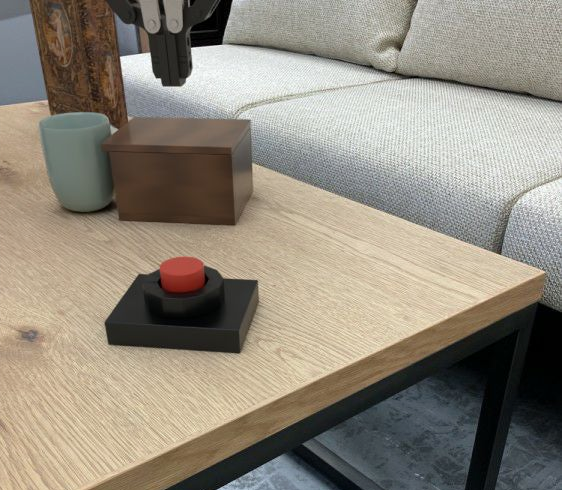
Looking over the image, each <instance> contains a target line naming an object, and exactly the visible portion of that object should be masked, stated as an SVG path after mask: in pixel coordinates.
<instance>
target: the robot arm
mask: <svg viewBox="0 0 562 490" xmlns="http://www.w3.org/2000/svg"><path fill="white" fill-rule="evenodd" d="M105 1H106V3H107V4H108V5H109V6H110V7H111V9H112V10H113V11H114V14H115V16H117V17H118V18H119V19H120V21H121V22H122V23H123V24H125V25H134V26H135V27H139V28H141V29H142V30H144V31H145V33H146V35H147V39H148V45H149V53H150V63H151V71H152V74H153V75H154V78H155V79H157V80H158V79H159V80H160V82H161V86H162V87H164V88H166V87H168V88H170V87H171V88H173V87H175V88H176V87H177V88H178V87H179V88H181V87H183V86H184V85H186V83H187V82H186V81H187V79H188V78H189V77H191V75H192V72H193V69H194V65H193V56H192V44H191V43H192V42H191V29H192V28H193V27H194V26H196V25H198V24H202V23H203V22H205V21H206V20H208V19H209V18H210V17H211V16H212V15H213V13H214V11H215V9H216V8H217V7H218V5H219V3H220V2H221V0H194V2H193V3H192V5H190V4H191V2H190V1H191V0H105Z"/></svg>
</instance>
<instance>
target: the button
mask: <svg viewBox="0 0 562 490" xmlns="http://www.w3.org/2000/svg"><path fill="white" fill-rule="evenodd" d="M204 266H205V265H204V262H203V260H201V259H199V258H197V257H193V256H176V257H171V258H168V259H166V260H164V261H163V262H161V263H160V264H159V269H160V276H161V285H162V288H163V289H164V290H167V291H170V292H188V291H193V290H197V289H199V288H201V287H203V286H204V285H205V274H204Z"/></svg>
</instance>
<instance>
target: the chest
mask: <svg viewBox="0 0 562 490" xmlns="http://www.w3.org/2000/svg"><path fill="white" fill-rule="evenodd" d="M109 156H110V163H111V170H112V176H113V183H114V190H115V195H114V197H115V202H116V203H115V204H116V210H117V216H118V220H119V221H129V222H130V221H131V222H133V221H134V222H155V223H177V224H202V225H223V226H225V225H226V226H236V225H237V222H238V221H239V219H240V217H241V215H242V213H243V211H244V209H245V207H246V205H247V203H248V201H249V199H250V197H251V196H252V194H253V192H254V177H253V176H254V173H253V172H254V171H253V147H252V126H251V127H250V128H249V130H248V131H247V133H246V134H245V136H244V137H243V139H242V140H241V141H240V143H239V144H238V146H237V147H236V149H235V150H234V152H233V153H232V155H225V154H190V153H155V152H121V151H109Z"/></svg>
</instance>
